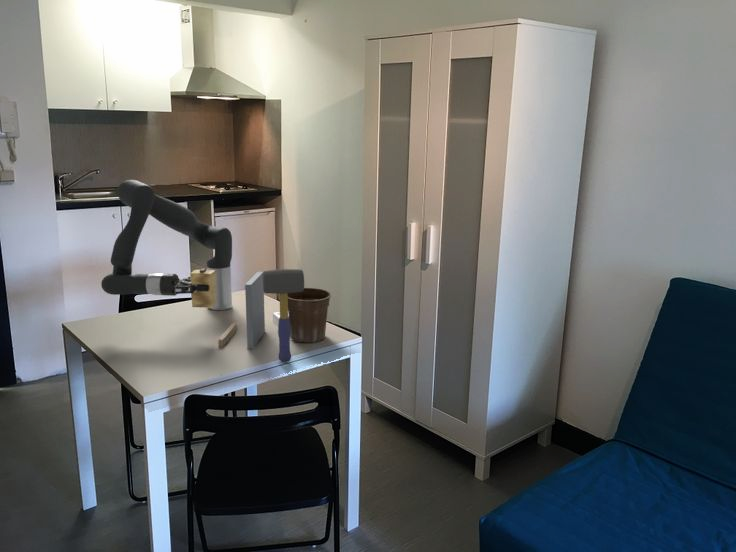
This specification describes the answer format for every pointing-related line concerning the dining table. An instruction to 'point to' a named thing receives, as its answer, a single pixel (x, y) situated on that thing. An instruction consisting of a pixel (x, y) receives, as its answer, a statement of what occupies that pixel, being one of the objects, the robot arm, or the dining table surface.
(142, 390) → the dining table surface
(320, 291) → the plant pot
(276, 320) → the bracket
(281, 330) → the rubber mallet
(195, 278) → the ochre block
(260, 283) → the wall board
